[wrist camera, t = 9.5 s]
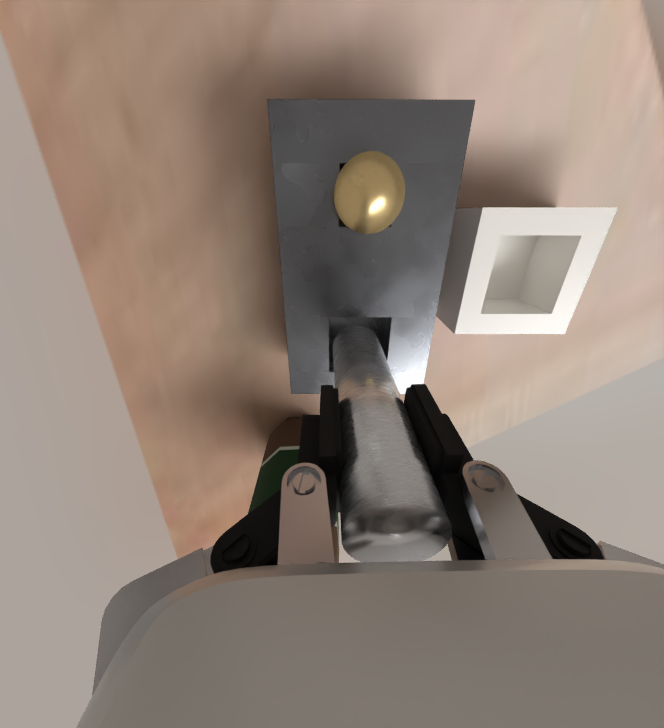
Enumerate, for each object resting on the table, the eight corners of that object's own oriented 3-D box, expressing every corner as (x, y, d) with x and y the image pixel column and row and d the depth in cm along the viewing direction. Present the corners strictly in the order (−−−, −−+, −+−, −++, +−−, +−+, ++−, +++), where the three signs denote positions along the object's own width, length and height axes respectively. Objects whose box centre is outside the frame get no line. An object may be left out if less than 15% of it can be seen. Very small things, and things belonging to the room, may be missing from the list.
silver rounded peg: (332, 324, 17) (342, 504, 7) (381, 324, 17) (463, 502, 7) (332, 366, 19) (340, 567, 8) (377, 366, 19) (440, 565, 8)
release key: (333, 169, 19) (334, 150, 13) (386, 169, 19) (409, 151, 13) (332, 228, 21) (334, 234, 15) (381, 228, 21) (400, 234, 15)
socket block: (285, 131, 19) (267, 99, 13) (434, 131, 19) (475, 99, 13) (298, 358, 27) (291, 393, 21) (403, 357, 27) (421, 393, 22)
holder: (450, 208, 21) (482, 207, 17) (557, 208, 21) (617, 207, 17) (432, 312, 25) (454, 334, 20) (522, 312, 25) (564, 333, 20)
